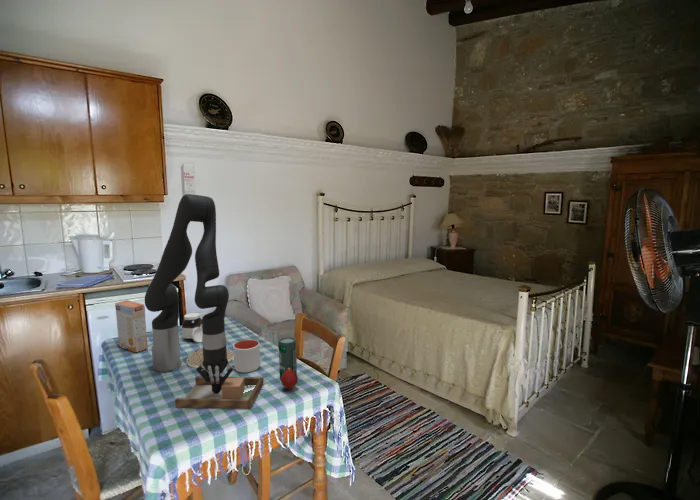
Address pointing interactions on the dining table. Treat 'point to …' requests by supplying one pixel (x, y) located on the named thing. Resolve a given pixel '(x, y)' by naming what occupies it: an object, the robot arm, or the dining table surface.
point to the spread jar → (192, 327)
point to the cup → (246, 356)
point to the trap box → (219, 396)
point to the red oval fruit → (289, 379)
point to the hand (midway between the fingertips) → (217, 392)
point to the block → (233, 388)
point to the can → (287, 355)
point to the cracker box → (131, 325)
